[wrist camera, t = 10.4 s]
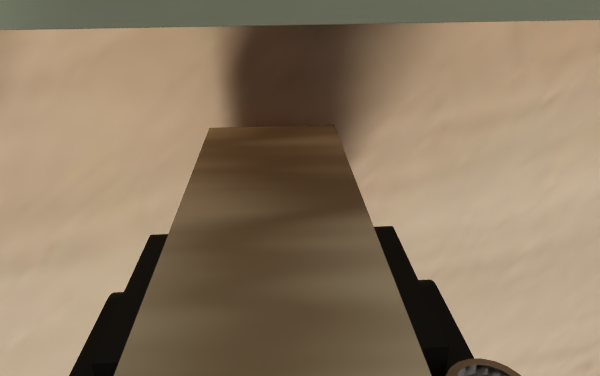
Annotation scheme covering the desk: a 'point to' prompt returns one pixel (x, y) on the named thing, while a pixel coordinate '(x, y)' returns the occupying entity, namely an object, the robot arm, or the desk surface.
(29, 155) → the desk surface
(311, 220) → the block
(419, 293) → the robot arm
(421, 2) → the lid
